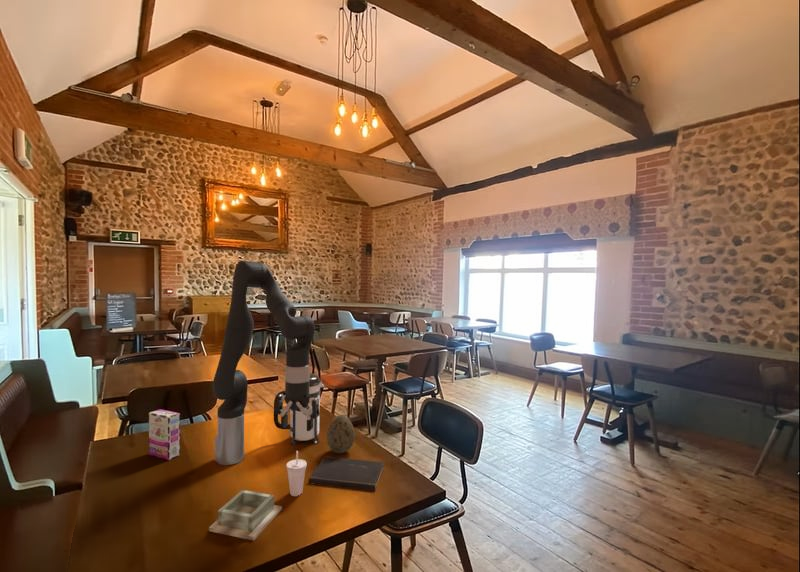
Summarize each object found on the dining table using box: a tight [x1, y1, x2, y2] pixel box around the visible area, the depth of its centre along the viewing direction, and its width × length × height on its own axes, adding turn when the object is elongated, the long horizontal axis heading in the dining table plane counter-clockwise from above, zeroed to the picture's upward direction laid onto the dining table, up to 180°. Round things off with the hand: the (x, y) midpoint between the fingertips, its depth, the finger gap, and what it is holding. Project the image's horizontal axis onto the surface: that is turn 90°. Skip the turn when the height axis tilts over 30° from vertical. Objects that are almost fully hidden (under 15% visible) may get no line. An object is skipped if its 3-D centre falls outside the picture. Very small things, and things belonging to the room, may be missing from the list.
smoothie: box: [286, 450, 308, 497], centre depth 127 cm, size 6×6×14 cm
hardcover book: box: [308, 455, 386, 492], centre depth 139 cm, size 16×23×2 cm
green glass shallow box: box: [208, 489, 283, 541], centre depth 113 cm, size 14×14×5 cm
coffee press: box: [273, 372, 325, 446], centre depth 166 cm, size 17×16×30 cm
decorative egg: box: [326, 414, 356, 454], centre depth 156 cm, size 11×11×15 cm
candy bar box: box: [148, 408, 181, 461], centre depth 150 cm, size 11×5×16 cm, turn 68°
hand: (297, 428), depth 126 cm, fingers open, 8 cm apart
